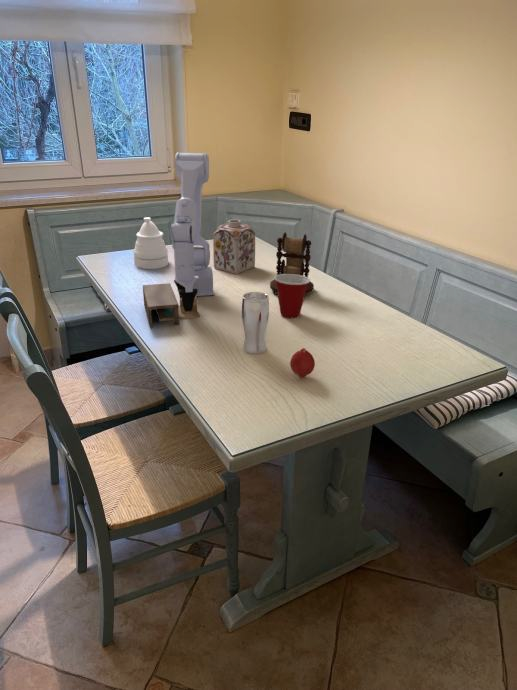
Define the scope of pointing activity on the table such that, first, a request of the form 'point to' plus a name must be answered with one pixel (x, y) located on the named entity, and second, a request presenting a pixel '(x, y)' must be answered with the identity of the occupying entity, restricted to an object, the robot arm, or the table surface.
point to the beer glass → (255, 321)
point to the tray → (168, 312)
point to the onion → (302, 363)
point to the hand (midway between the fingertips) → (186, 306)
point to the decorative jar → (234, 247)
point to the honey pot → (150, 247)
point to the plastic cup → (291, 293)
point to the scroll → (293, 259)
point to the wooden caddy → (160, 300)
